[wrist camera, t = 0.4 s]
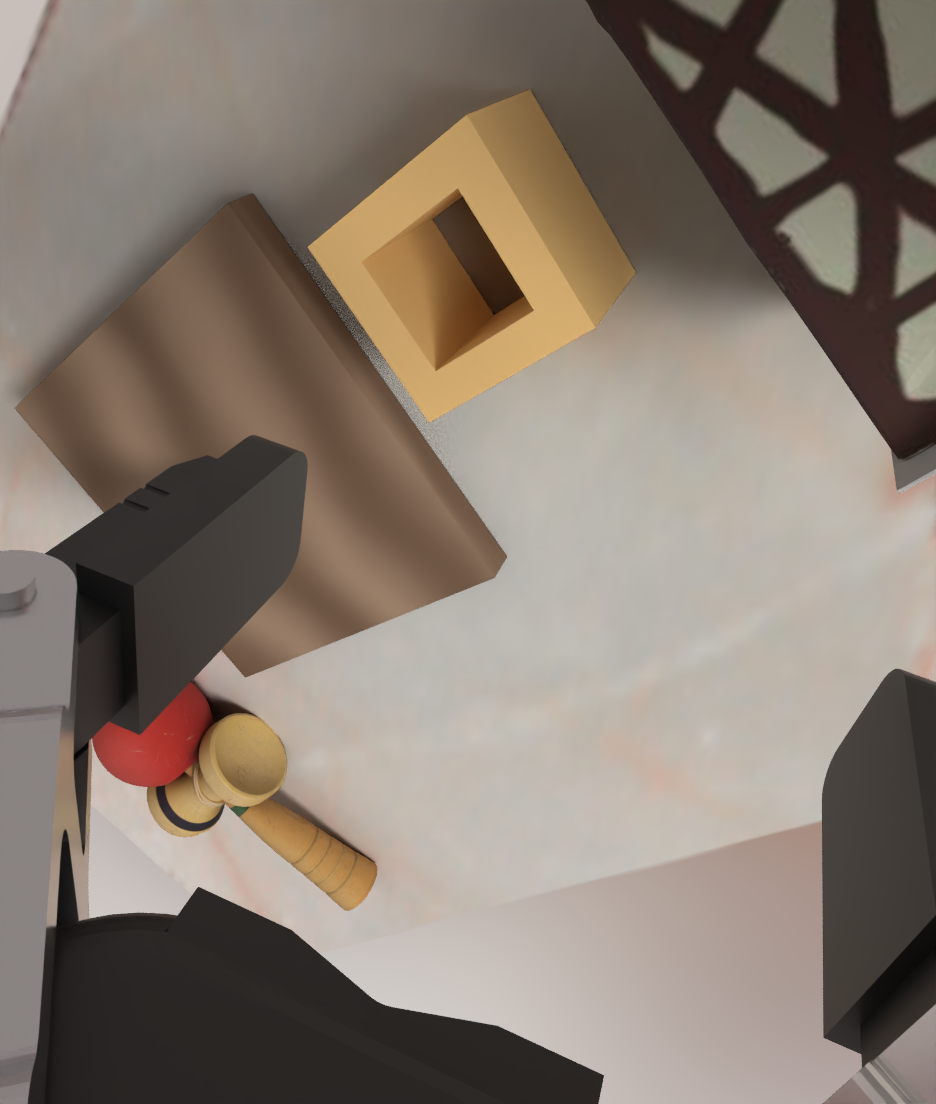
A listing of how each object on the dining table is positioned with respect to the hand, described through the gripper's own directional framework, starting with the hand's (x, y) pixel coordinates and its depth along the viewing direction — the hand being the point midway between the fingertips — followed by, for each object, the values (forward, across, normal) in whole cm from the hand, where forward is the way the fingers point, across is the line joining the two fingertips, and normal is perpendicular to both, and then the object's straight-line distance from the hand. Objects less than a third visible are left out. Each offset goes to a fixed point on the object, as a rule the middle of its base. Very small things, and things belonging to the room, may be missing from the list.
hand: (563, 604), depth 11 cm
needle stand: (+19, +15, +13) cm, 27 cm away
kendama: (+20, +14, +33) cm, 41 cm away
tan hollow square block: (+18, +6, 0) cm, 19 cm away
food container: (+17, -3, -6) cm, 19 cm away
